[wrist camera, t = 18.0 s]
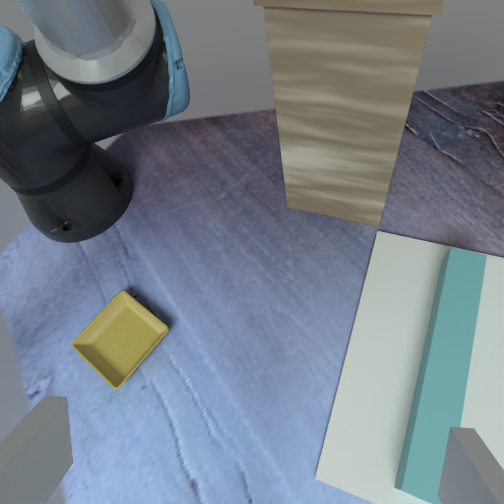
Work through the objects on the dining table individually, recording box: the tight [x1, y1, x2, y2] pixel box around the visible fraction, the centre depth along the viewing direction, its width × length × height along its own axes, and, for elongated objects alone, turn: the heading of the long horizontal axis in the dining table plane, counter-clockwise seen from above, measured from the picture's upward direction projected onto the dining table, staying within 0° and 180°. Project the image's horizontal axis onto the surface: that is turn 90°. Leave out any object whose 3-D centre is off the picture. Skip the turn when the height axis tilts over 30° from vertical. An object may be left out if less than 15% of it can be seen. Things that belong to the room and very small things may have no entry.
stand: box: [254, 0, 445, 226], centre depth 41 cm, size 15×13×28 cm
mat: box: [315, 231, 504, 504], centre depth 39 cm, size 28×18×1 cm, turn 160°
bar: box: [394, 247, 487, 504], centre depth 37 cm, size 24×4×4 cm, turn 158°
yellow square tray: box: [72, 291, 169, 390], centre depth 45 cm, size 9×9×2 cm
